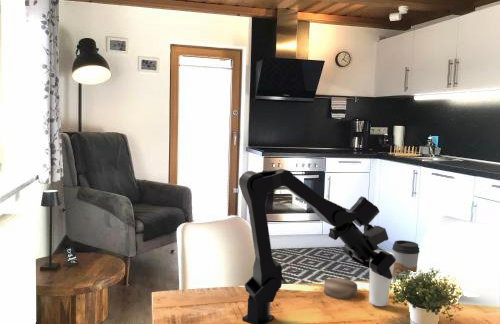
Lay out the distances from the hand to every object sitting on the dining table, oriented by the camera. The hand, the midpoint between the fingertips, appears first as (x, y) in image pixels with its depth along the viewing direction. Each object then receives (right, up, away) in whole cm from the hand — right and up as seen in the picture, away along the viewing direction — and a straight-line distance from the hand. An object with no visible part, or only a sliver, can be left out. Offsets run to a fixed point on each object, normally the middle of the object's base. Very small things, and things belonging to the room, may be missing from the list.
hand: (383, 273), depth 132 cm
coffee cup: (+11, -9, +15) cm, 20 cm away
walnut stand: (-11, -8, +9) cm, 16 cm away
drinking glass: (-1, -9, +1) cm, 9 cm away
